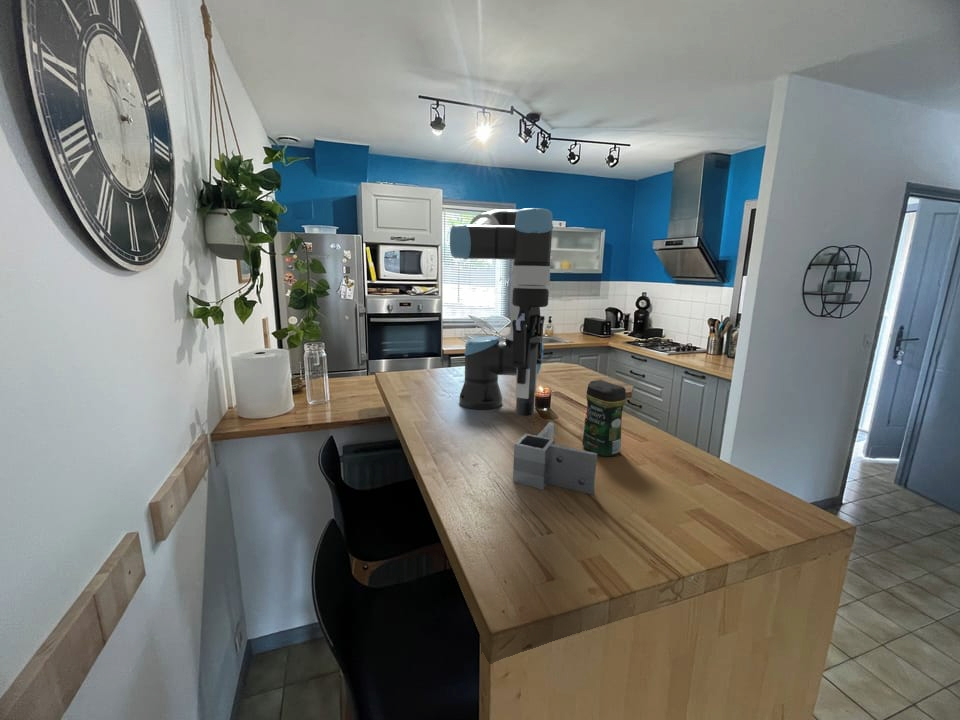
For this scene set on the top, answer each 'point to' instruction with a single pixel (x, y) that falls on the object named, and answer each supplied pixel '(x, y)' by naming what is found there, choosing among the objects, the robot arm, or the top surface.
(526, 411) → the pin
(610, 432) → the coffee jar
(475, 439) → the top surface
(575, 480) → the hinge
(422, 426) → the top surface
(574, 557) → the top surface
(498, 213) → the robot arm
